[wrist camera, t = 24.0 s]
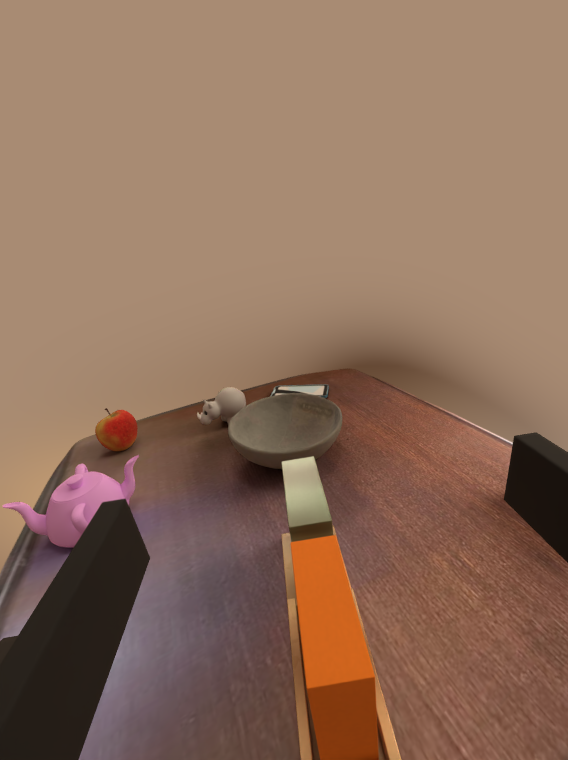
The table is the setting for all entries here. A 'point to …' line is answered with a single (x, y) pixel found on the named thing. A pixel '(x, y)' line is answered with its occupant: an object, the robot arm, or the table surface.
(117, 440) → the apple
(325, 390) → the smartphone
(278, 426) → the bowl
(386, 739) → the pad holder
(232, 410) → the round bodied animal figurine
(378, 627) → the table surface
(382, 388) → the table surface
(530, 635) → the table surface
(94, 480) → the teapot
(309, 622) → the orange rectangular block
